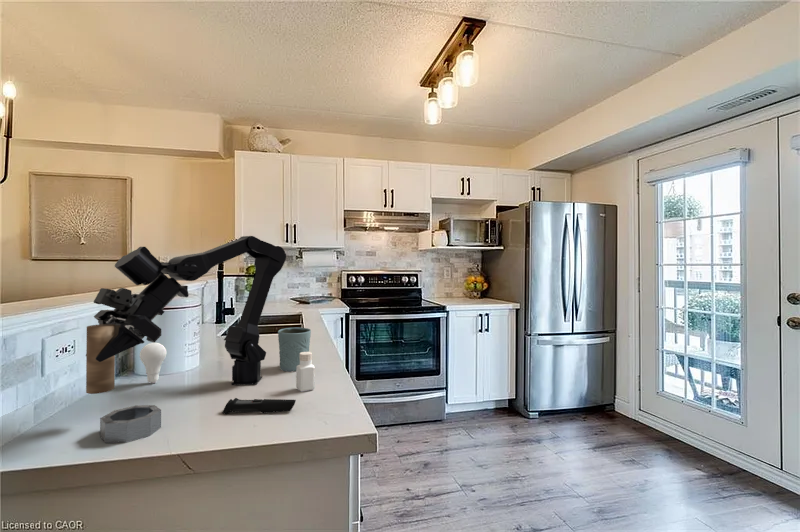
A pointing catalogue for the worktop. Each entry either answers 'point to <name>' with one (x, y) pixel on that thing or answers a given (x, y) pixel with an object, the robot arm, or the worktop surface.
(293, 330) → the teal plant pot
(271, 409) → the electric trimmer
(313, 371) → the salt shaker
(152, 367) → the lightbulb
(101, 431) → the gray faceted open holder
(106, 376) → the wooden peg
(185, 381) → the worktop surface
